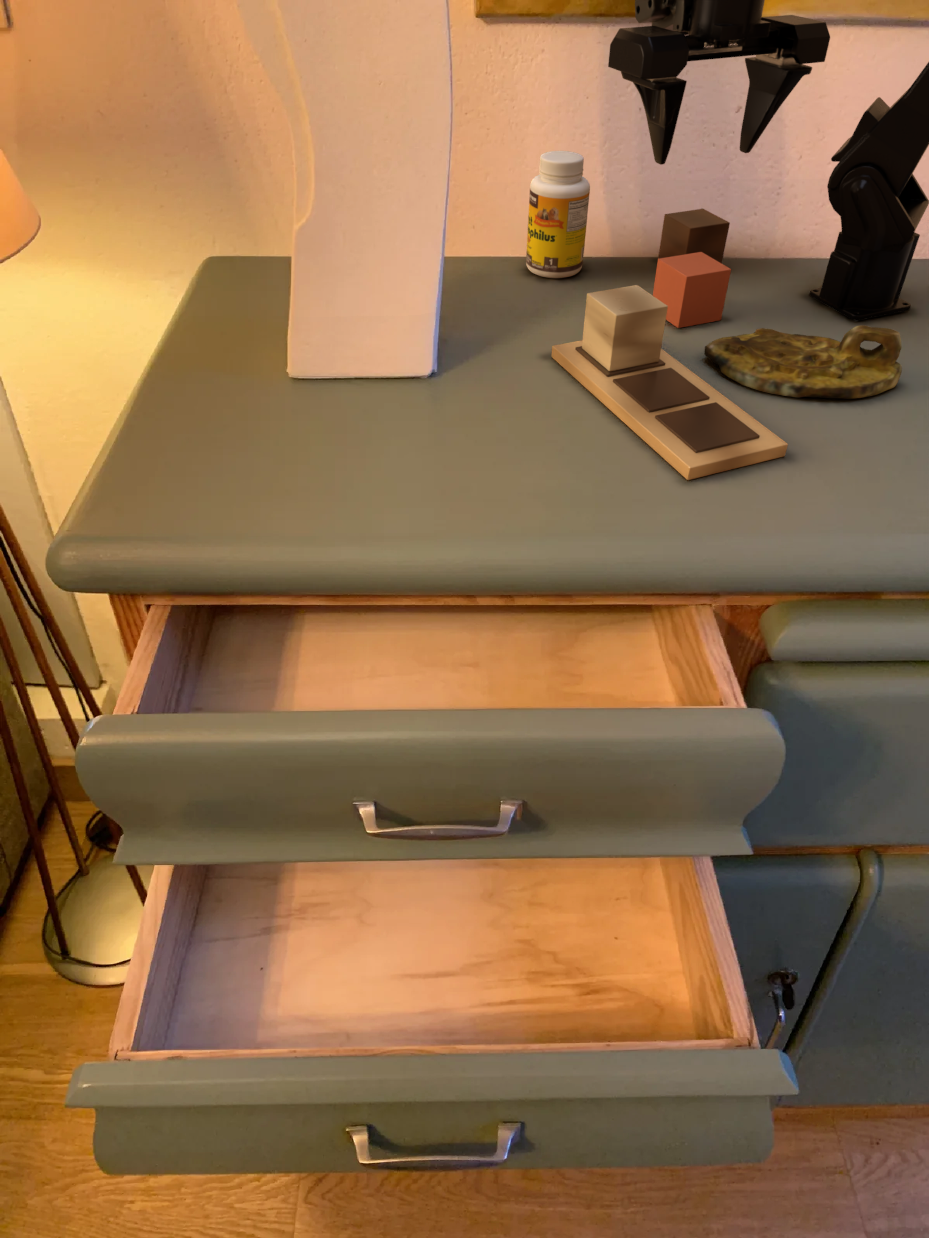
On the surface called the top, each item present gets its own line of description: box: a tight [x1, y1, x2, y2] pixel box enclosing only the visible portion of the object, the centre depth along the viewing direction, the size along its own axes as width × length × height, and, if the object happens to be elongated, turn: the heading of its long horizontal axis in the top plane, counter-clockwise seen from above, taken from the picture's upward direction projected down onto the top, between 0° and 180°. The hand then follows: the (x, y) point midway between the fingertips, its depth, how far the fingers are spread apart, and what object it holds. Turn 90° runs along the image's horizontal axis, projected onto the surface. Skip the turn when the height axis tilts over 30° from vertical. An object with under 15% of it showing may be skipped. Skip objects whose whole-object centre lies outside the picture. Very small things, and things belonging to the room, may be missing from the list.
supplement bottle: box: [525, 150, 591, 279], centre depth 84 cm, size 6×6×10 cm
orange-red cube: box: [652, 252, 732, 329], centre depth 78 cm, size 4×4×4 cm
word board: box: [551, 284, 789, 481], centre depth 66 cm, size 8×20×6 cm, turn 23°
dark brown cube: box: [657, 208, 731, 264], centre depth 87 cm, size 4×4×4 cm
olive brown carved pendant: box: [703, 324, 903, 400], centre depth 70 cm, size 9×5×15 cm
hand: (702, 157), depth 81 cm, fingers open, 9 cm apart
